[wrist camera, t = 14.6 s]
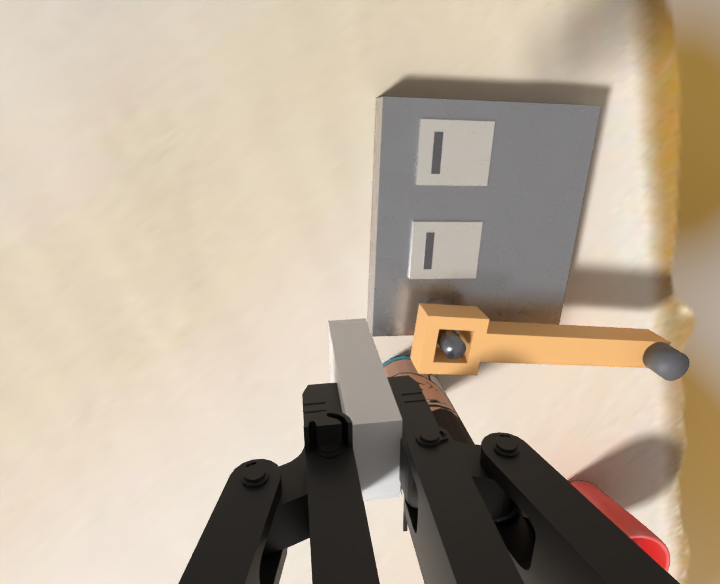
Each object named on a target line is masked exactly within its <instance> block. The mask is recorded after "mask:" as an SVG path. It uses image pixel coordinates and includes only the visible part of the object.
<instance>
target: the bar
mask: <svg viewBox="0 0 720 584" xmlns="http://www.w3.org/2000/svg"><path fill="white" fill-rule="evenodd" d="M439 329H445V330H460V332H459V336H460V338H461V339H462V340H463V342H464V343H465V345H466V351H465V353H464V355H463V356H462V357H460V358H458V359H450V358H448V357H447V356H446V354H445V353H444V351H443V350H442V348H436V344H437V338H438V333H439ZM670 343H671V342H669V341H667V340H666V339H664V338H662V337H661V336H659V335H657V334H655V333H654V332H652V331H650V330H649V329H633V328H614V327H594V326H575V325H556V324H537V323H518V322H499V321H489V318H488V317H487V316H486V315H485V314H484V313H483V312H482V311H481V310H480V309H479V308H478V307H477V306H460V305H442V304H425V303H419V308H418V314H417V320H416V326H415V332H414V338H413V344H412V350H411V356H410V358H411V360H412V362H413V364H414V366H415V368H416V370H417V372H418V374H448V375H477V374H478V369H479V365H480V362H499V363H527V364H554V365H582V366H609V367H637V368H649V369H651V370H652V371H654V372H655V373H657V374H658V375H659V376H661V377H662V378H664V379H665V380H668V381H673V380H676V379H679V378H680V377H682V376H683V375H684V374H685V373H686V371H687V370H688V367H689V359H688V357H687V356H686V355H685V354H683V353H681V352H679V351H678V350H676V349H674V348H673V347H671V346H670Z"/></svg>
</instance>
